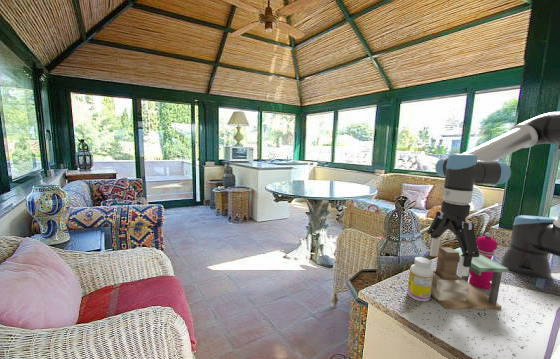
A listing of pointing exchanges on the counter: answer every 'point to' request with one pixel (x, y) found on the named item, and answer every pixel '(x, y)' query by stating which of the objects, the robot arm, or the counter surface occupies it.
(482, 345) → the counter surface
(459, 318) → the counter surface
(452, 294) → the awning station
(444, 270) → the walnut peg
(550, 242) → the robot arm
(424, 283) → the supplement bottle
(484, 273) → the pepper mill
